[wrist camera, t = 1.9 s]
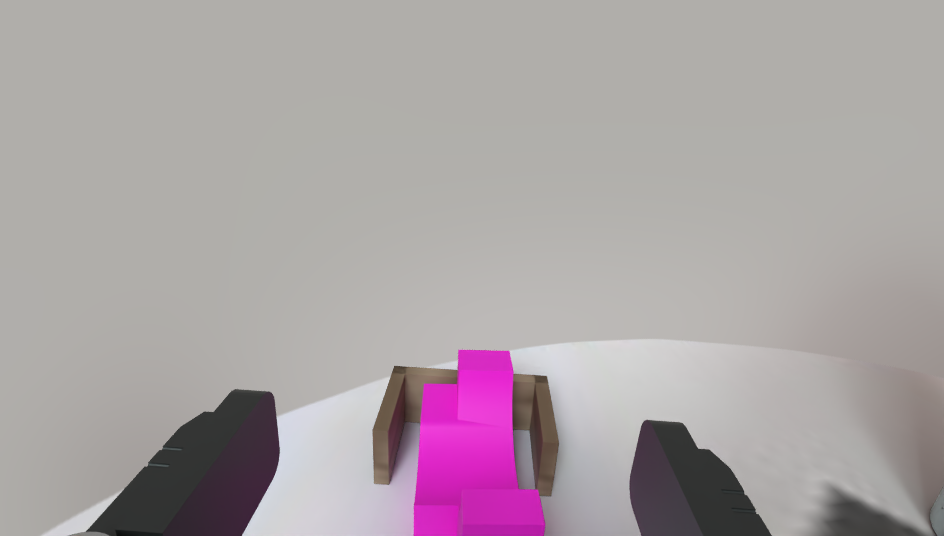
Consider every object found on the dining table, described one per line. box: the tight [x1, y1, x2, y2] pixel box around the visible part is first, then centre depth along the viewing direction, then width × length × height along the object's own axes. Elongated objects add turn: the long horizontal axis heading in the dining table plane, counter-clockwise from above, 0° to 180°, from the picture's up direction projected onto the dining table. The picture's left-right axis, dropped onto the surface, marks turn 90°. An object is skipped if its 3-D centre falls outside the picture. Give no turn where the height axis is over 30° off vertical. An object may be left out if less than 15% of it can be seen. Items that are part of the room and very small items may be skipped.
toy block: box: [414, 350, 545, 536], centre depth 30 cm, size 15×6×8 cm, turn 2°
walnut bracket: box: [373, 366, 559, 496], centre depth 36 cm, size 12×8×4 cm, turn 88°
